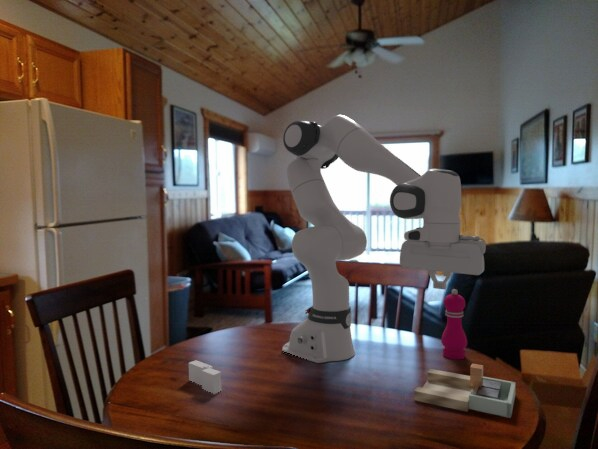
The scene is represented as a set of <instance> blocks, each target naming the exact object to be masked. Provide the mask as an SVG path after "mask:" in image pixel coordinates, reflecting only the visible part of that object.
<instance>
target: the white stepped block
mask: <svg viewBox="0 0 598 449" xmlns="http://www.w3.org/2000/svg"><path fill="white" fill-rule="evenodd" d="M189 380H190V381H192V382H191V383H193V382H195V383H197V384H196V385H198V384H199V385H198V386H200V385H202V386H201V390H202V389H204V390H203V391H205V390H206V391H205V392H207V391H208V392H207V393H209V392H211V393H210V394H212V393H213V394H212V395H217V394H218V392H219V393H221V392H223V391H222V371H219V370H217V369H214V367H213V365H210V364H208V363H205V362H202V361H200V360H196V359H195V360H193V361H189V362H188V381H189ZM190 381H189V382H190ZM195 383H194V384H195ZM220 391H221V392H220Z"/></svg>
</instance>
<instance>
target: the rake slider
mask: <svg viewBox="0 0 598 449" xmlns="http://www.w3.org/2000/svg"><path fill="white" fill-rule="evenodd" d="M469 373H470V374H469V376H470V386H473V387H472V390H471V394H473V395H477V393H478V390H479V388H482V385H483V377H484V365H482V364H477V363H471V365H470V372H469Z"/></svg>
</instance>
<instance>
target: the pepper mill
mask: <svg viewBox="0 0 598 449" xmlns="http://www.w3.org/2000/svg"><path fill="white" fill-rule="evenodd" d="M458 293H459V292H458V289H455V288H453V289H452V290H451V293H449V294H448V295H446V296H445V297H444V299H443V306H444V307H445V309H446V310H445V311H444V312H445V314H444V315H445V316H446V318H447V320H446V321H447V322H446V326H445V329H444V331H443V332H442V335H441V345H442V346H443V347H444V348H442V356H444V357H445V358H447V359H448V360H449V359H450V360H456V361H457V360H458V361H459V360H464V359H466V350H465V348H466V347H467V346H468V340H467V339H468V338H467V335H466V333H465V331H464V328H463V324H462V319H463V317H464V309H465V308H466V300H465V298H464V297H463V296H462V295H460V294H458Z"/></svg>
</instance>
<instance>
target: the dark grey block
mask: <svg viewBox="0 0 598 449" xmlns="http://www.w3.org/2000/svg"><path fill="white" fill-rule="evenodd" d="M482 387H485V388H490V389H495V390H499V400H500V398H501V382H495V381H490V380H485V379H483V385H482Z"/></svg>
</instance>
